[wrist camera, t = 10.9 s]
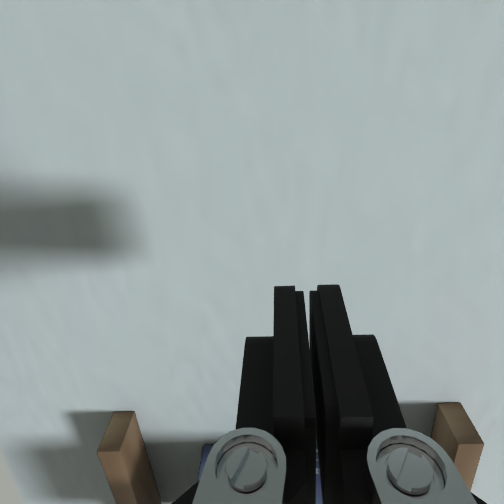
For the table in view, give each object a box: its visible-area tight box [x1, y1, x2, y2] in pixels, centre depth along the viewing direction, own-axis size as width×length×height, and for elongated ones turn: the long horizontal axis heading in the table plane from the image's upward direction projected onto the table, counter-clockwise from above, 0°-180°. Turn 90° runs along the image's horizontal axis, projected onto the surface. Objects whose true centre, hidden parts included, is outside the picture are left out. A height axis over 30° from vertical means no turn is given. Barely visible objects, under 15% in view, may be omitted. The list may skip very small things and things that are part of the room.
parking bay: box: [97, 403, 484, 504], centre depth 23 cm, size 19×13×2 cm
